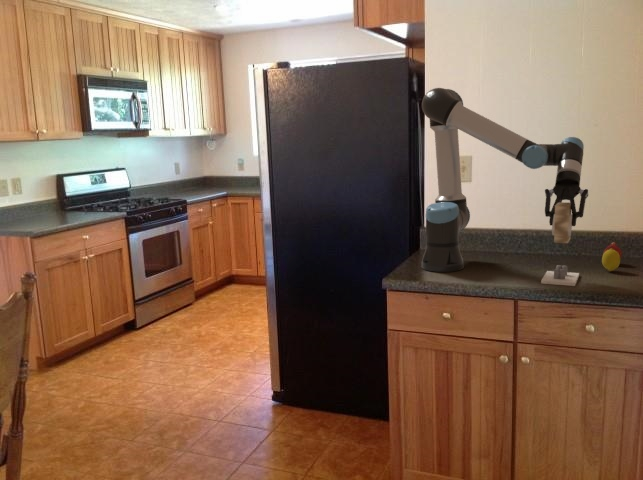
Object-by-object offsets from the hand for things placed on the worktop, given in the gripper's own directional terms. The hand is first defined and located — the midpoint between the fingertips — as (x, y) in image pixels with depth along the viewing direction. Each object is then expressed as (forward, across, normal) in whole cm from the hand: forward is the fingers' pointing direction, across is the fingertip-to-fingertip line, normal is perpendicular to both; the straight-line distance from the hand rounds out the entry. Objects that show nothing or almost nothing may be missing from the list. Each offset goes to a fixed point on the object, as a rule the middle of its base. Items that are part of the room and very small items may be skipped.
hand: (561, 232), depth 187 cm
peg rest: (+9, 0, -14) cm, 17 cm away
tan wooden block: (0, 0, -5) cm, 5 cm away
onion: (-12, -14, -35) cm, 39 cm away
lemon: (-3, -14, -26) cm, 30 cm away
